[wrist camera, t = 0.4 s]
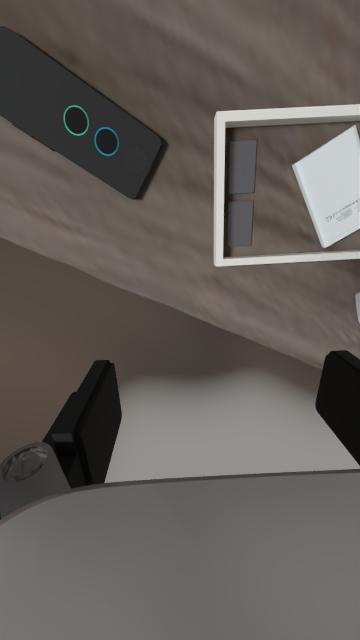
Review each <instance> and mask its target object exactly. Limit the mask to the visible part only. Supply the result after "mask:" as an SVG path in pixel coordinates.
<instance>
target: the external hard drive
mask: <svg viewBox="0 0 360 640" xmlns="http://www.w3.org/2000/svg"><path fill="white" fill-rule="evenodd" d="M292 167H293V170H294V172H295V175H296V178H297V181H298V183H299V186H300V189H301V191H302V194H303V197H304V199H305V202H306V205H307V208H308V210H309V213H310V216H311V218H312V221H313V224H314V226H315V229H316V232H317V235H318V237H319V240H320V243H321V245H322V247H324V248H326V247H328V246H330V245H332V244H334V243H335V242H337V241H339V240H340V239H342V238H344V237H346V236H347V235H349V234H351V233H353V232H354V231H356V230H358V229H360V139H359V136H358V132H357V128H356V125H354V126H352V127H350V128H349V129H347V130H346V131H344V132H343V133H341V134H340V135H338V136H337V137H335V138H333V139H332V140H330V141H329V142H327V143H326V144H324V145H323V146H321V147H320V148H318V149H316V150H315V151H313V152H312V153H310V154H309V155H307V156H306V157H304V158H302V159H301V160H299V161H298V162H296V163H295V164H293V165H292Z"/></svg>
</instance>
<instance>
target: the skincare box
mask: <svg viewBox="0 0 360 640" xmlns="http://www.w3.org/2000/svg"><path fill="white" fill-rule="evenodd" d="M355 297H356V309H357V316H358V321H359V324H360V292H358V293H356V295H355Z"/></svg>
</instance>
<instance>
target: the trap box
mask: <svg viewBox="0 0 360 640" xmlns="http://www.w3.org/2000/svg"><path fill="white" fill-rule="evenodd" d="M350 121H360V104H357V105H337V106H317V107H297V108H277V109H257V110H237V111H217V113H216V115H215V118H214V265H215V266H234V265H252V264H270V263H289V262H307V261H325V260H343V259H360V250H346V251H328V252H309V253H291V254H273V255H254V256H236V257H223V231H224V170H225V128H231V127H251V126H271V125H291V124H311V123H331V122H350ZM256 147H257V140H250V141H231V142H230V147H229V192H228V194H237V193H254V182H255V164H256ZM252 217H253V201H236V202H228V237H227V247H231V246H250V245H251V234H252Z"/></svg>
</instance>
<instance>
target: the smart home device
mask: <svg viewBox="0 0 360 640" xmlns="http://www.w3.org/2000/svg"><path fill="white" fill-rule="evenodd" d="M0 115H1V116H2V117H4V118H5V119H7V120H8V121H10V122H11V123H12V125H14V126H15V127H17V128H18V129H20V130H22V131H23V132H25V133H26V134H28V135H29V136H31V137H32V138H34V139H36V140H37V141H39V142H40V143H42V144H43V145H45V146H47V147H48V148H50V149H51V150H53V151H54V150H55V151H57V152H58V153H60V154H61V155H63V156H64V157H66V158H67V159H69V160H71V161H72V162H74V163H75V164H77V165H78V166H80V167H81V168H83V169H85V170H86V171H88V172H89V173H91V174H92V175H94V176H96V177H97V178H99V179H100V180H102V181H103V182H105V183H106V184H108V185H110V186H111V187H113V188H114V189H116V190H117V191H119V192H120V193H122V194H124V195H125V196H127V197H128V198H130V199H137V197H138V195H139V193H140V191H141V189H142V187H143V185H144V182H145V180H146V178H147V176H148V175H149V173H150V171H151V168H152V166H153V164H154V162H155V160H156V158H157V156H158V153H159V151H160V149H161V147H162V142H161V140H160V138H159V137H158V136H157V135H156V134H155V133H153V132H152V131H150V130H149V129H148V128H146V127H145V126H143V125H142V124H141V123H139V122H138V121H137V120H135V119H134V118H132V117H131V116H130V115H128V114H127V113H125V112H124V111H123V110H121V109H120V108H119V107H117V106H116V105H114V104H113V103H112V102H110V101H109V100H108V99H106V98H105V97H103V96H102V95H101V94H99V93H98V92H96V91H95V90H94V89H92V88H91V87H90V86H88V85H87V84H85V83H84V82H83V81H81V80H80V79H78V78H77V77H76V76H74V75H73V74H72V73H70V72H69V71H67V70H66V69H65V68H63V67H62V66H60V65H59V64H58V63H57V62H56V61H54V60H53V59H51V58H50V57H49V56H47V55H46V54H45V53H43V52H42V51H40V50H39V49H38V48H36V47H34V46H33V45H31V44H30V43H29V42H27V41H26V40H25V39H23V38H22V37H20V36H19V35H18V34H16V33H15V32H13V31H12V30H11V29H9V28H7V27H4V26H0Z"/></svg>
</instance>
